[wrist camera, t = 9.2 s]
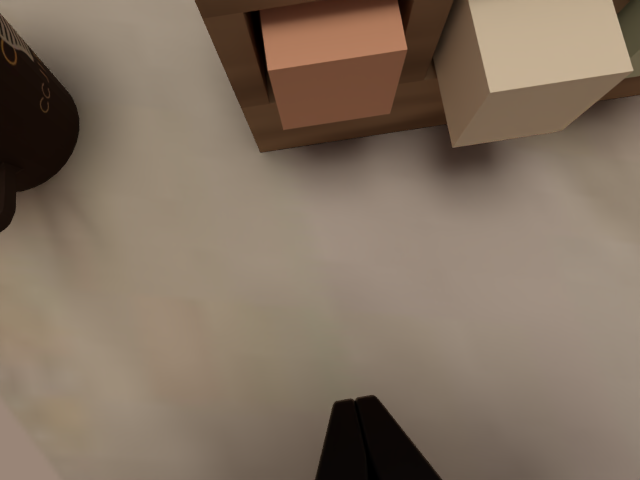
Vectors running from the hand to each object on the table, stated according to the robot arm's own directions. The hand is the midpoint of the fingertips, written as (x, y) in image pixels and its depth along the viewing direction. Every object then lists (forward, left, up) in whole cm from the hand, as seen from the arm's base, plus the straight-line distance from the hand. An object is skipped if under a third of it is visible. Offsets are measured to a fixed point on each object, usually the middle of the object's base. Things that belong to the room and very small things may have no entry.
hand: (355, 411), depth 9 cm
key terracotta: (+7, -10, -6) cm, 14 cm away
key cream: (+2, -12, -6) cm, 14 cm away
